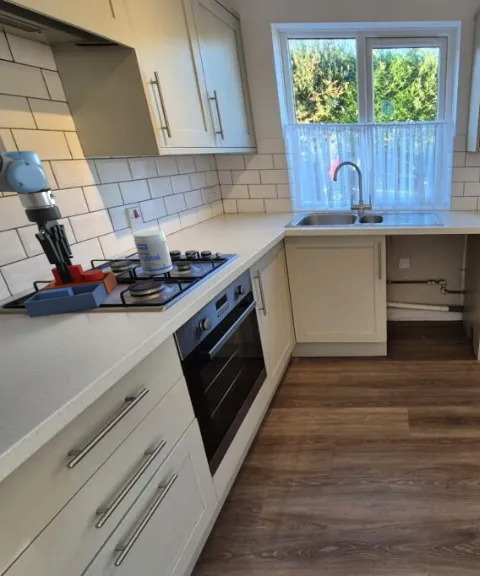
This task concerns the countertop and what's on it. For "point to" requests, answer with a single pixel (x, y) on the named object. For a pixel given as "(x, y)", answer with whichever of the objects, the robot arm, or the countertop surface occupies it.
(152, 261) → the supplement tub
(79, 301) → the blue bin
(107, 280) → the red bin
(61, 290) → the blue spoon
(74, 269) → the red spoon
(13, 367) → the countertop surface
